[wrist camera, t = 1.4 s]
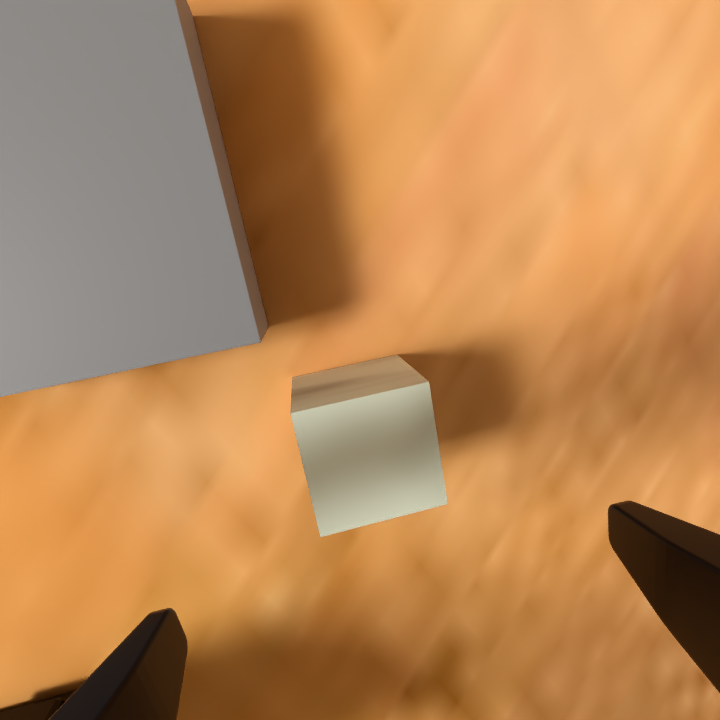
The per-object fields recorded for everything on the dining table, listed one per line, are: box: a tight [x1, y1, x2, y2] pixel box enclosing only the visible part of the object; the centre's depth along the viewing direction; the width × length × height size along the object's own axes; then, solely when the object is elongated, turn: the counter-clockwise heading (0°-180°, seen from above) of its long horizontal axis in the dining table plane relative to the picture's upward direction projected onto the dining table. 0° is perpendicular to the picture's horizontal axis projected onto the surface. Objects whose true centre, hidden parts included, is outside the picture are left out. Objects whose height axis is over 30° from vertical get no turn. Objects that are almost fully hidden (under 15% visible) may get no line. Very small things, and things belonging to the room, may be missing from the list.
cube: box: [291, 355, 448, 537], centre depth 18 cm, size 5×5×5 cm
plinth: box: [0, 0, 268, 397], centre depth 14 cm, size 12×12×4 cm
